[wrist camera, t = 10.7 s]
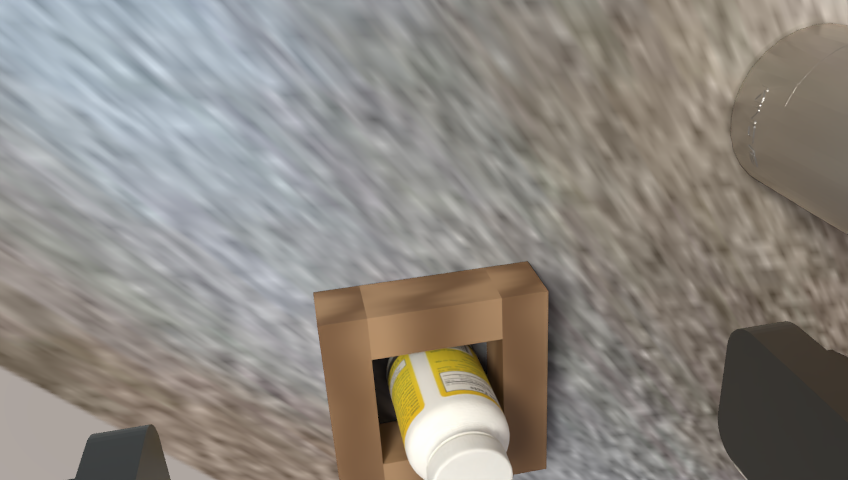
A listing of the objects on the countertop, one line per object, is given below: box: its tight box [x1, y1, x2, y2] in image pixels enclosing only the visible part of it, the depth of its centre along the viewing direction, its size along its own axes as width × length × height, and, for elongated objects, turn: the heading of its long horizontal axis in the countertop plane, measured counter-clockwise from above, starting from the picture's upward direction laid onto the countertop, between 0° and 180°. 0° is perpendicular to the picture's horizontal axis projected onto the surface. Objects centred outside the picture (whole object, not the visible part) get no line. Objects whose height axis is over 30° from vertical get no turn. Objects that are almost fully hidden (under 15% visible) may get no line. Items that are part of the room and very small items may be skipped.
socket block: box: [313, 261, 548, 480], centre depth 43 cm, size 12×12×4 cm
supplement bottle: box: [386, 344, 513, 480], centre depth 40 cm, size 5×5×10 cm
